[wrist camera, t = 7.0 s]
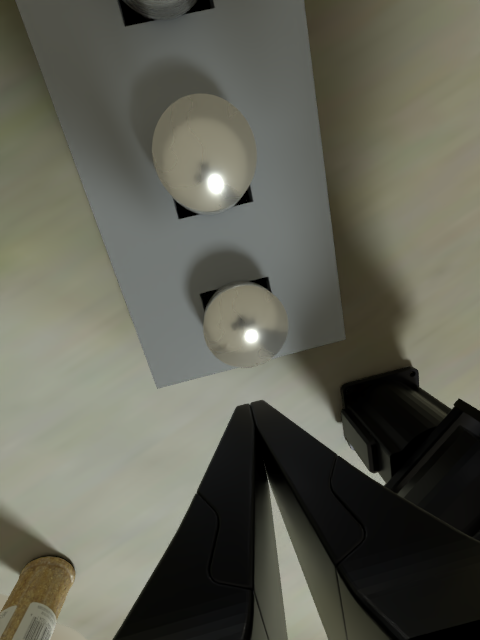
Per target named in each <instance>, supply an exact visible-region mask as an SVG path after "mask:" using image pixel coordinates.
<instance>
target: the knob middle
mask: <svg viewBox="0 0 480 640" xmlns="http://www.w3.org/2000/svg"><path fill="white" fill-rule="evenodd" d="M152 155H153V162H154V166H155V169H156V172H157V175H158V177H159V179H160V181H161V183H162V184H163V186H164V187H165V188H166V190H167V191H168V192H169V193H170V195H171V196H172V197H173V198H174V200H175V201H176V202H178V203H179V204H180V205H181V206H182V207H184V208H186V209H187V210H189V211H191V212H194V213H197V214H202V215H214V214H219V213H222V212H224V211H226V210H228V209H230V208H231V207H233V206H234V205H235V204H236V203H237V202H238V201H239V200H240V199H241V197H242V196H243V195H244V193H245V192H246V190H247V189H248V187H249V185H250V183H251V181H252V179H253V176H254V173H255V169H256V162H257V149H256V143H255V139H254V135H253V132H252V130H251V128H250V126H249V124H248V122H247V120H246V119H245V117H244V116H243V115H242V114H241V112H240V111H239V110H238V109H237V108H236V107H235V106H233V105H232V104H231V103H229V102H228V101H226V100H224V99H222V98H220V97H218V96H215V95H211V94H199V93H198V94H191V95H188V96H185V97H182V98H180V99H178V100H177V101H175V102H174V103H172V104H171V105H170V106H169V107H168V108H167V109H166V110H165V112H164V113H163V114H162V116H161V117H160V119H159V121H158V123H157V125H156V128H155V131H154V135H153V141H152Z"/></svg>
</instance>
